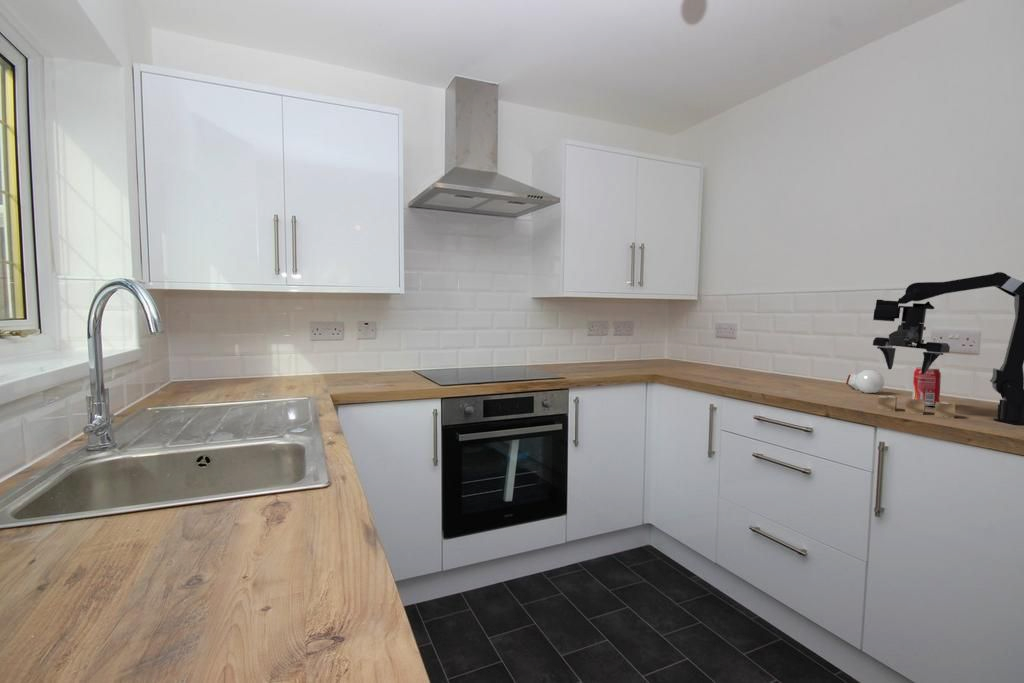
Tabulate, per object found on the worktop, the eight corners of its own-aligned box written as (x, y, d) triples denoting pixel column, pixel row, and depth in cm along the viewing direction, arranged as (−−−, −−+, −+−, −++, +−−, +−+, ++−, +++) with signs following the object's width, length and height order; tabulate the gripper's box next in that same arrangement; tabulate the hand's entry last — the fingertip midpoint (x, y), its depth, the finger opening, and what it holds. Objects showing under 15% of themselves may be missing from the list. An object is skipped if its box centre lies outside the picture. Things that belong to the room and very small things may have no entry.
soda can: (944, 408, 166) (947, 369, 165) (919, 406, 167) (922, 368, 166) (930, 404, 173) (933, 367, 172) (907, 403, 174) (909, 366, 173)
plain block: (924, 413, 157) (925, 400, 157) (923, 415, 153) (924, 402, 153) (906, 410, 160) (907, 398, 160) (905, 412, 156) (905, 400, 156)
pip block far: (896, 409, 161) (897, 396, 161) (894, 411, 158) (895, 398, 158) (879, 407, 164) (879, 394, 164) (877, 409, 161) (878, 396, 161)
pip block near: (954, 416, 152) (955, 402, 152) (954, 418, 149) (955, 404, 148) (935, 414, 155) (936, 400, 155) (934, 416, 152) (935, 402, 151)
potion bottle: (874, 398, 191) (850, 397, 206) (895, 384, 190) (870, 383, 205) (859, 378, 191) (836, 378, 206) (880, 364, 191) (856, 365, 206)
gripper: (866, 319, 162) (860, 367, 163) (934, 324, 145) (927, 377, 147) (885, 321, 167) (879, 367, 168) (953, 325, 150) (946, 376, 152)
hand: (905, 371), depth 159 cm, fingers open, 9 cm apart
